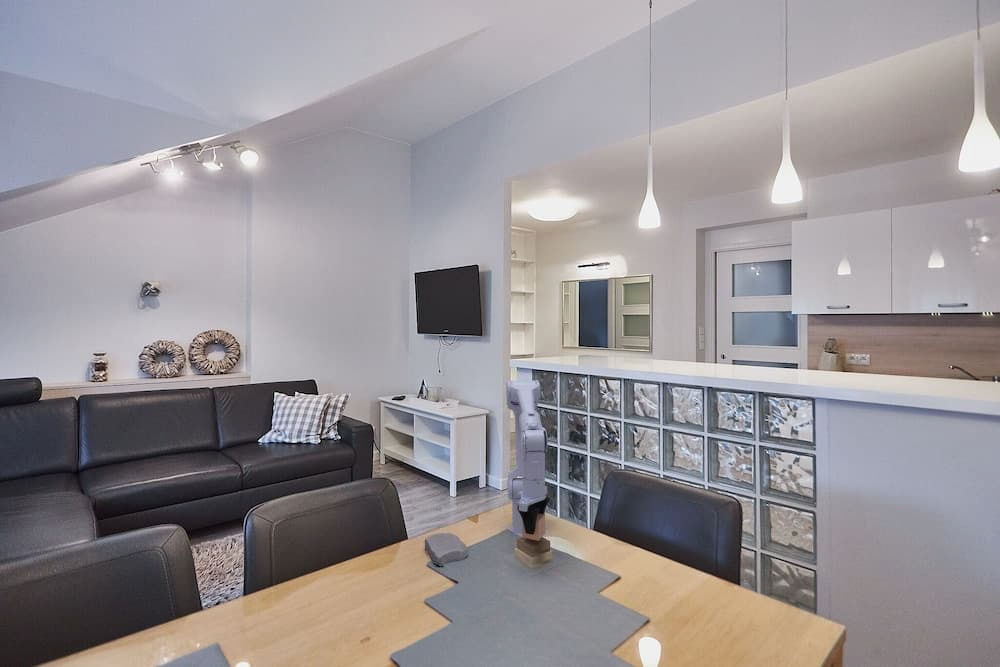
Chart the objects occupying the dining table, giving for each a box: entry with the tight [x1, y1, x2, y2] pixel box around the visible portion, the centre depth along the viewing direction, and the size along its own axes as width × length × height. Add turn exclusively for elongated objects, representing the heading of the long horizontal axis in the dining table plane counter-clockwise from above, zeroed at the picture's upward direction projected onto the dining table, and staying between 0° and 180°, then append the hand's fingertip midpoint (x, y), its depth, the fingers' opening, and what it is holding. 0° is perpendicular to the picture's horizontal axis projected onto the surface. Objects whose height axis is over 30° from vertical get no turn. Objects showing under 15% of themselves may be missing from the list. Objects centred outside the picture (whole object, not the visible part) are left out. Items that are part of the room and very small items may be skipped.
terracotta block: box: [522, 514, 546, 541], centre depth 126 cm, size 4×4×5 cm
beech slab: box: [513, 547, 554, 569], centre depth 126 cm, size 7×7×2 cm
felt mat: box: [500, 552, 567, 577], centre depth 126 cm, size 12×12×1 cm
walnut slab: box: [516, 536, 551, 557], centre depth 126 cm, size 6×6×2 cm
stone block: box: [424, 532, 469, 566], centre depth 130 cm, size 12×5×10 cm
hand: (533, 529), depth 126 cm, fingers closed on terracotta block, 4 cm apart
